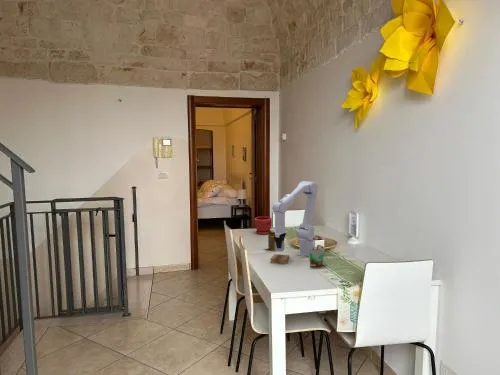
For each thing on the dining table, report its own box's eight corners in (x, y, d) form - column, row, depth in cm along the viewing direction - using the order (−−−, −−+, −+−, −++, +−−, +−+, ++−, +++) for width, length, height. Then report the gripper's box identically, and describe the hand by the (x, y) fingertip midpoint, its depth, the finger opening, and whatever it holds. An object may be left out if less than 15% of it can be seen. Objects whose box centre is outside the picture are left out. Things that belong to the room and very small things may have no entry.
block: (284, 249, 209) (284, 240, 208) (282, 251, 205) (282, 242, 204) (276, 248, 210) (276, 240, 210) (274, 250, 206) (274, 242, 206)
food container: (319, 269, 192) (320, 251, 191) (308, 267, 195) (309, 249, 194) (328, 263, 203) (328, 245, 202) (317, 261, 206) (317, 244, 205)
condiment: (280, 250, 231) (280, 231, 230) (269, 252, 227) (269, 233, 225) (273, 247, 237) (273, 229, 236) (263, 249, 233) (262, 231, 231)
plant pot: (260, 230, 288) (260, 215, 287) (275, 232, 280) (275, 217, 279) (251, 234, 277) (251, 218, 276) (265, 236, 270) (265, 220, 268)
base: (289, 259, 211) (289, 255, 211) (286, 264, 203) (286, 259, 202) (274, 258, 214) (274, 254, 213) (270, 262, 205) (270, 258, 205)
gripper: (275, 220, 214) (275, 243, 215) (269, 225, 200) (270, 249, 202) (287, 221, 212) (287, 244, 213) (282, 226, 198) (282, 250, 200)
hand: (280, 247), depth 207 cm, fingers closed on block, 5 cm apart
